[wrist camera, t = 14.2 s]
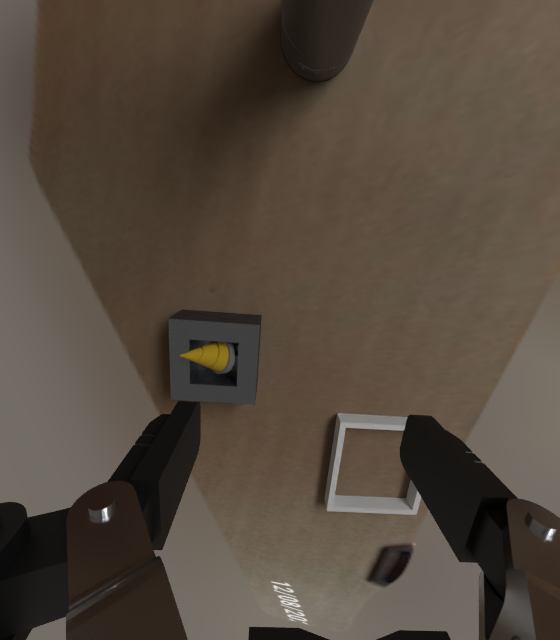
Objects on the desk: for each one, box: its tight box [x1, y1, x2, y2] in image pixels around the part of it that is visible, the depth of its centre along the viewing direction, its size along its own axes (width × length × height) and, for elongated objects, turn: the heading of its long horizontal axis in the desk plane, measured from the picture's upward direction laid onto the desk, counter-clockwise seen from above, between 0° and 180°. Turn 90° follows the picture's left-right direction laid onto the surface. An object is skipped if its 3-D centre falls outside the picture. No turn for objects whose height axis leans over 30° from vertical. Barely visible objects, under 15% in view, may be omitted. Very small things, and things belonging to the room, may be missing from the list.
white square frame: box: [324, 413, 421, 515], centre depth 49 cm, size 19×17×2 cm
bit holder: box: [168, 310, 262, 405], centre depth 41 cm, size 12×12×6 cm
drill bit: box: [180, 341, 238, 374], centre depth 39 cm, size 5×5×10 cm
